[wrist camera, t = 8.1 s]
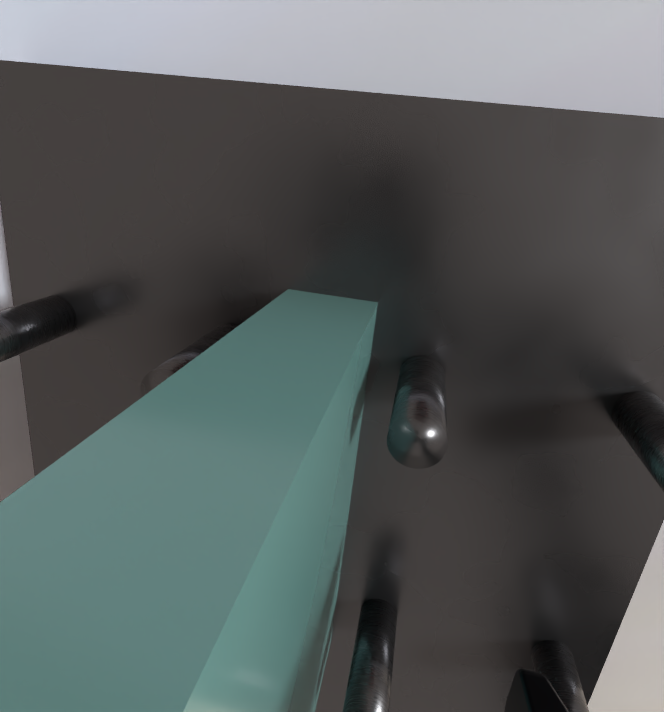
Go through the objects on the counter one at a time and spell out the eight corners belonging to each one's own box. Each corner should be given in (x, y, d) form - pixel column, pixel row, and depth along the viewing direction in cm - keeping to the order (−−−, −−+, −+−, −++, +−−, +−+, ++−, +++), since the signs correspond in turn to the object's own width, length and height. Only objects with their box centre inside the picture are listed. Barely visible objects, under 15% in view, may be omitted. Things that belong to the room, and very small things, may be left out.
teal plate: (330, 642, 14) (134, 1504, 5) (263, 625, 15) (-41, 1409, 5) (377, 302, 11) (9, 1079, 1) (288, 288, 11) (-492, 866, 2)
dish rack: (541, 764, 16) (574, 947, 12) (77, 637, 18) (-16, 757, 14) (784, 136, 9) (1017, 108, 6) (18, 68, 12) (-178, 16, 8)
